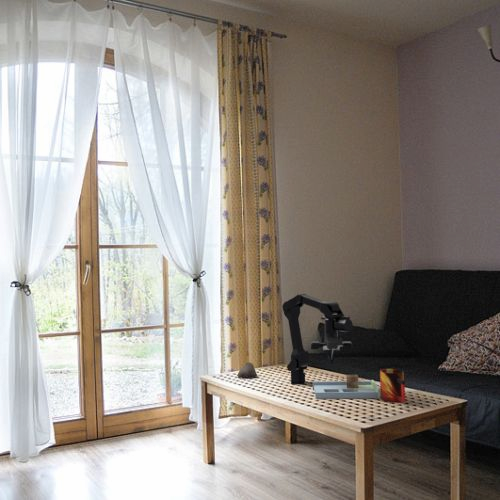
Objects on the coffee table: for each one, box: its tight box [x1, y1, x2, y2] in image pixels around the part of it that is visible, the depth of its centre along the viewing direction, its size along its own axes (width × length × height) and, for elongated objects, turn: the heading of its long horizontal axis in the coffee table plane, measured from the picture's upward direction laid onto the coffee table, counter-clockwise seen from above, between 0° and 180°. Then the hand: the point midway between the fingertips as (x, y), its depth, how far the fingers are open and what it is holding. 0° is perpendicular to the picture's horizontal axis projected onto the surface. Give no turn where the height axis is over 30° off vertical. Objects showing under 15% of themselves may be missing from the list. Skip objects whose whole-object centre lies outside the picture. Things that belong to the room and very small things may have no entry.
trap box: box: [312, 379, 381, 400], centre depth 263 cm, size 28×18×4 cm, turn 88°
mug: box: [379, 368, 406, 404], centre depth 249 cm, size 10×14×12 cm
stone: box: [237, 362, 258, 379], centre depth 304 cm, size 10×8×10 cm
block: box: [345, 374, 359, 388], centre depth 267 cm, size 5×5×5 cm
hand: (331, 364), depth 271 cm, fingers closed
